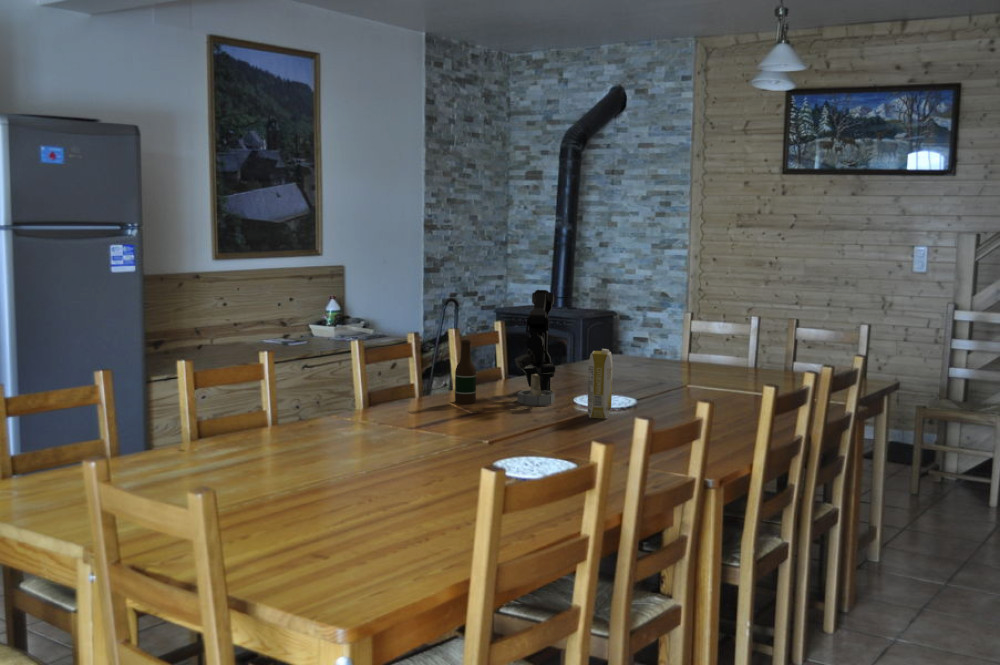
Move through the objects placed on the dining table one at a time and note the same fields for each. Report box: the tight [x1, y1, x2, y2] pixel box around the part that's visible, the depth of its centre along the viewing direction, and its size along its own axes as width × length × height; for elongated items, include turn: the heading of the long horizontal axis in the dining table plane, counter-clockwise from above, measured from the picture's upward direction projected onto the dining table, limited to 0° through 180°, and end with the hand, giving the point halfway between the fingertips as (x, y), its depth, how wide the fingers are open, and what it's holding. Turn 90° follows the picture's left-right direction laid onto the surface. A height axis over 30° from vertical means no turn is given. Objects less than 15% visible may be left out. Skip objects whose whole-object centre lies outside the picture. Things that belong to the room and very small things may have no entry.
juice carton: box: [587, 348, 614, 420], centre depth 346 cm, size 9×8×24 cm
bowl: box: [517, 389, 556, 408], centre depth 370 cm, size 13×13×4 cm
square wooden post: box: [530, 374, 542, 396], centre depth 369 cm, size 3×3×10 cm
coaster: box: [482, 395, 514, 402], centre depth 376 cm, size 9×9×1 cm
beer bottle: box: [454, 339, 477, 405], centre depth 366 cm, size 8×8×24 cm
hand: (536, 388), depth 370 cm, fingers open, 9 cm apart
